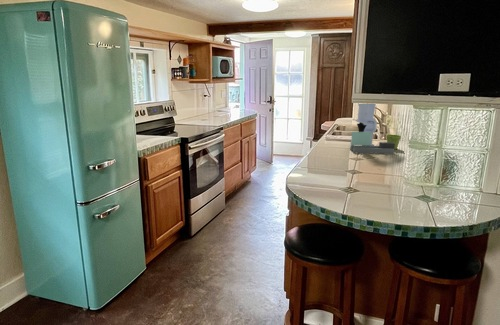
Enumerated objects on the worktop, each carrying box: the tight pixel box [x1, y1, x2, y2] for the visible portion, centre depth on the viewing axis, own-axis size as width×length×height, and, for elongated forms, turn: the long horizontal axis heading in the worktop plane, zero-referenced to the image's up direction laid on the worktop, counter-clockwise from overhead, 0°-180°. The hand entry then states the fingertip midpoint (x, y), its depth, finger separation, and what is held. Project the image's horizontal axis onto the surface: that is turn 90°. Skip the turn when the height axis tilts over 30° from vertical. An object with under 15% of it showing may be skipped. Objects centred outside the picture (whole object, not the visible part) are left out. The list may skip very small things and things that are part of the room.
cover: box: [350, 131, 371, 146], centre depth 216 cm, size 8×12×1 cm
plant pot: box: [385, 134, 402, 150], centre depth 222 cm, size 9×9×9 cm
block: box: [378, 141, 395, 149], centre depth 212 cm, size 4×8×6 cm, turn 89°
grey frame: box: [349, 144, 395, 155], centre depth 213 cm, size 11×24×6 cm, turn 89°
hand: (360, 134), depth 216 cm, fingers closed, pressing on cover
